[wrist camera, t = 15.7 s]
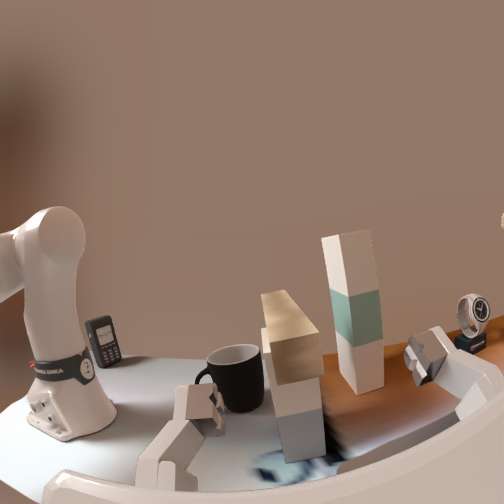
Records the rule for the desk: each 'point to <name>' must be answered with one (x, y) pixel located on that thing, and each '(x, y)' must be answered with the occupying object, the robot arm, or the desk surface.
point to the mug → (237, 376)
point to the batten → (291, 340)
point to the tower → (356, 309)
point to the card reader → (103, 341)
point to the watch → (479, 315)
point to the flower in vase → (502, 221)
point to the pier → (296, 413)
